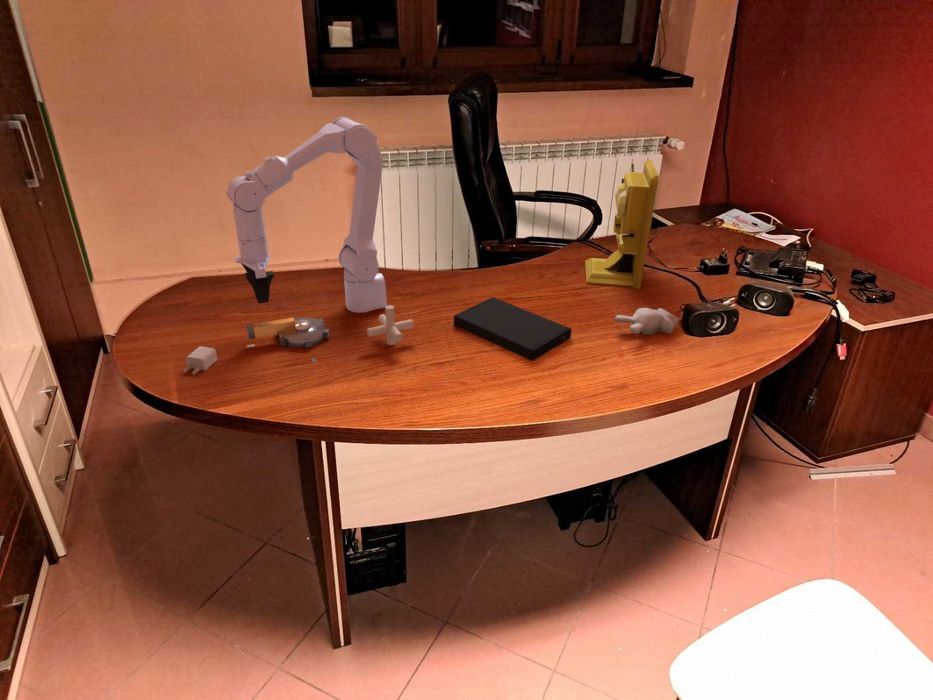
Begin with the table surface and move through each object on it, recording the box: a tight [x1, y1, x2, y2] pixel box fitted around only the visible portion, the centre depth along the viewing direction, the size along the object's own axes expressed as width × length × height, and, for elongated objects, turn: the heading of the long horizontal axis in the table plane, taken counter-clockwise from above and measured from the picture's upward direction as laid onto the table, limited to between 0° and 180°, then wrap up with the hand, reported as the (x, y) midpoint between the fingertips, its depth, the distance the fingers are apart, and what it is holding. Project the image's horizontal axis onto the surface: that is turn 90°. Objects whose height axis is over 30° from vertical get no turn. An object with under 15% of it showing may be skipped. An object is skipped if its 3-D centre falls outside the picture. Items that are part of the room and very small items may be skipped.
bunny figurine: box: [613, 307, 680, 336], centre depth 150 cm, size 10×5×15 cm
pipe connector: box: [366, 304, 415, 346], centre depth 139 cm, size 10×10×10 cm
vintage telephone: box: [584, 158, 659, 291], centre depth 173 cm, size 31×14×30 cm, turn 172°
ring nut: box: [245, 316, 331, 349], centre depth 140 cm, size 17×12×4 cm
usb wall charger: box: [182, 345, 218, 375], centre depth 130 cm, size 4×7×4 cm, turn 167°
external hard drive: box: [453, 297, 572, 362], centre depth 149 cm, size 14×23×3 cm, turn 48°
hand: (260, 295), depth 141 cm, fingers open, 6 cm apart
